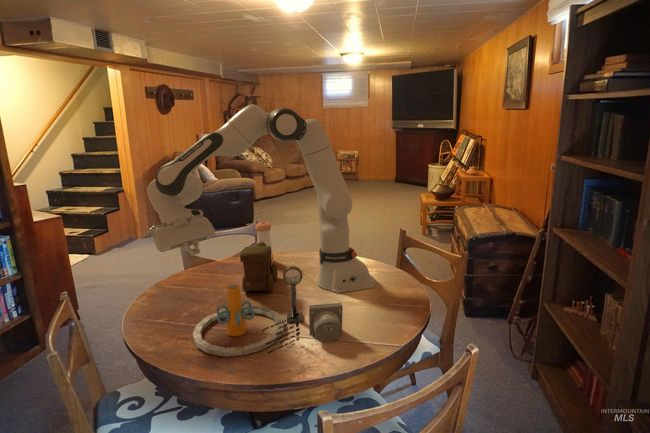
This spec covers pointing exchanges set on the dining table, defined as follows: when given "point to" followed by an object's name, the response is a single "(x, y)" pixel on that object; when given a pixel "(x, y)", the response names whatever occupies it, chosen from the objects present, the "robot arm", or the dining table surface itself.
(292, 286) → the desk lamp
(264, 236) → the salt shaker
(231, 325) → the orange vase with loops
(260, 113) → the robot arm
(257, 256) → the brown backpack
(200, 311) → the dining table surface
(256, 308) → the ring
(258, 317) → the dining table surface
